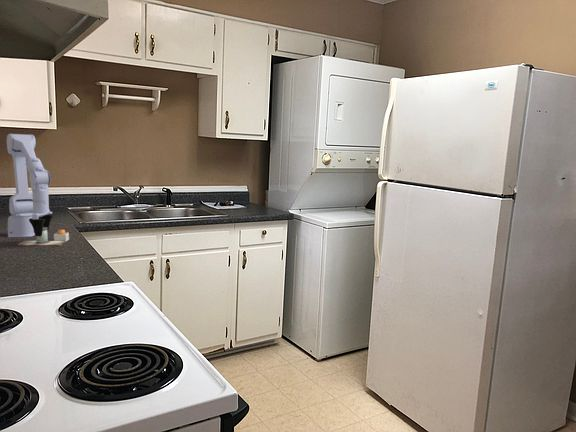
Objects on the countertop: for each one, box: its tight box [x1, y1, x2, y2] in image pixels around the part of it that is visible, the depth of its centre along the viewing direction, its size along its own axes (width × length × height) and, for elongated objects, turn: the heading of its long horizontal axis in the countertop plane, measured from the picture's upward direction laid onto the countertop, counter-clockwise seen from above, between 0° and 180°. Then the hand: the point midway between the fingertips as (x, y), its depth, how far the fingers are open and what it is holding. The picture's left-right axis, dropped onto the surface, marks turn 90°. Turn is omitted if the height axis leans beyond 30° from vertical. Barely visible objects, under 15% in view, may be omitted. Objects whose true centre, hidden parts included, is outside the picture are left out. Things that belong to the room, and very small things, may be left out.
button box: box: [53, 232, 70, 242], centre depth 204 cm, size 5×5×3 cm
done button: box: [57, 229, 66, 234], centre depth 204 cm, size 3×3×3 cm
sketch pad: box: [17, 240, 67, 247], centre depth 197 cm, size 16×8×1 cm, turn 99°
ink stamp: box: [36, 227, 49, 243], centre depth 196 cm, size 4×4×6 cm
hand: (41, 234), depth 196 cm, fingers open, 7 cm apart
